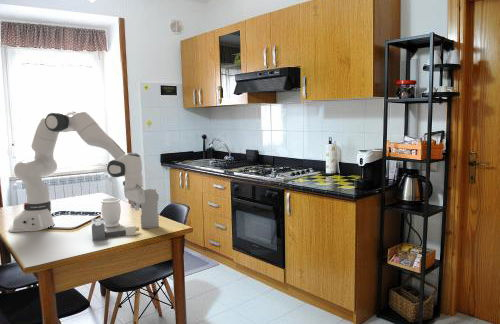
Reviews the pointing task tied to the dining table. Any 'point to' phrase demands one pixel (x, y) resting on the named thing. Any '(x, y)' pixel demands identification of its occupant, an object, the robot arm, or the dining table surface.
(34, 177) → the robot arm
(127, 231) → the plug
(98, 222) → the block
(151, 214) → the tall pale column
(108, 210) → the jar
